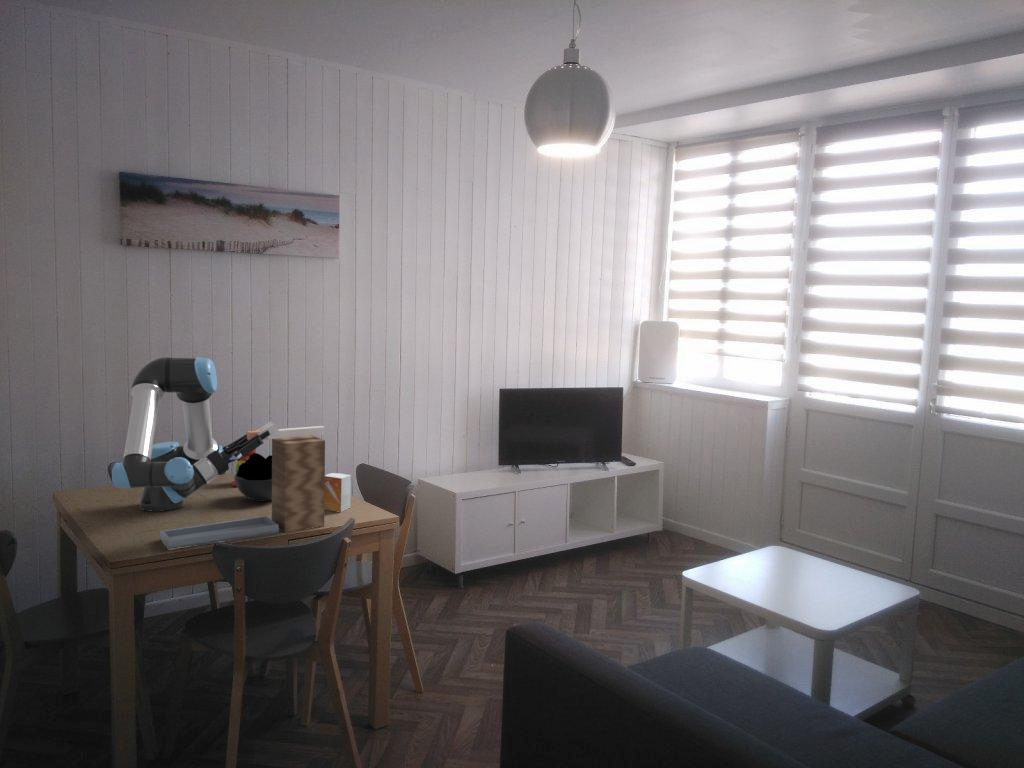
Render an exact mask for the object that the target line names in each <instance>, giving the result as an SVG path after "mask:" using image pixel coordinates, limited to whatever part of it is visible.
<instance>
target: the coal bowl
mask: <svg viewBox="0 0 1024 768" xmlns="http://www.w3.org/2000/svg"><path fill="white" fill-rule="evenodd" d="M233 477H234V481H235V483H236V485H237V487H236V488H237V489H238V490H239V492H240V493H241V494H242V495H243V496H245V497H246V498H248V499H250V500H252V501H257V502H266V501H269V500H272V454H271V455H270V454H269V455H268V456H266V457H265V456H263V455H262V454H259V453H256V452H255V453H253V454H252V455H250V457H249V459H248V460H246V461H245V463H242V464H241V465H240V466H239V469H238V472H237V474H236V473H235V474H234V476H233Z"/></svg>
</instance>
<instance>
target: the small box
mask: <svg viewBox="0 0 1024 768" xmlns="http://www.w3.org/2000/svg"><path fill="white" fill-rule="evenodd" d="M351 478H352V474H346V473H339V472H338V473H337V472H331V473H327V474H325V500H324V511H331V512H335V511H339V512H338V513H340V512H341V513H343V512H342V511H344V510H346V509H348V508H350V509H351V487H352V486H351V485H352V484H351V482H352V479H351ZM348 510H349V509H348ZM346 511H347V510H346ZM344 512H345V511H344Z"/></svg>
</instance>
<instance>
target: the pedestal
mask: <svg viewBox="0 0 1024 768" xmlns="http://www.w3.org/2000/svg"><path fill="white" fill-rule="evenodd" d="M271 456H272V499H271V520H272V521H274V522H275V523H277V524H278V525H279V530H280V531H282V532H283V533H290V531H291V532H296V531H297V530H298V531H303V530H302V529H304V530H308V529H307V528H310V529H313V528H312V527H316V528H320V527H319V526H323V527H325V510H324V500H325V475H326V473H325V472H326V469H325V468H326V440H324V439H322V438H320V437H317V436H316V435H312V436H301V437H289V438H277V439H271Z"/></svg>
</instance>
